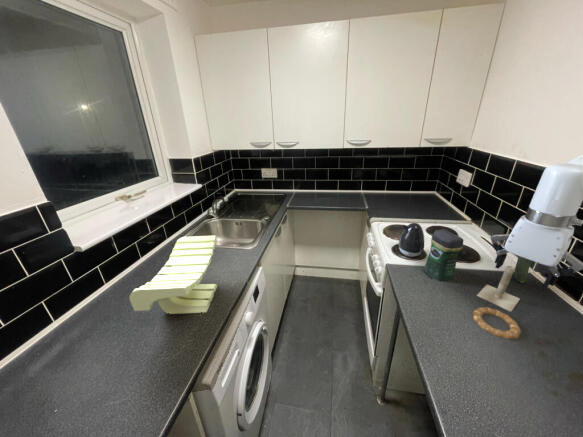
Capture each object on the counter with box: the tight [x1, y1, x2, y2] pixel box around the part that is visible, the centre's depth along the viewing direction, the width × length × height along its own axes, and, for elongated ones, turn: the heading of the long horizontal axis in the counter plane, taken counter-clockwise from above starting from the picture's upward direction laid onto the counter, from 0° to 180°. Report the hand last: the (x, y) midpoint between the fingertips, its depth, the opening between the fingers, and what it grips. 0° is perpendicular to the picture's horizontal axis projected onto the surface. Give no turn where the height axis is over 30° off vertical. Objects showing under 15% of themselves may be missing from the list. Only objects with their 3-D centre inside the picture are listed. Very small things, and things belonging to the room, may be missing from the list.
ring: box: [471, 306, 522, 340], centre depth 68 cm, size 11×11×2 cm
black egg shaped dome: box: [397, 222, 425, 258], centre depth 101 cm, size 10×10×15 cm
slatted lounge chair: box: [129, 234, 218, 315], centre depth 80 cm, size 30×16×18 cm, turn 1°
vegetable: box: [513, 256, 533, 284], centre depth 81 cm, size 4×4×20 cm
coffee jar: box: [423, 228, 464, 282], centre depth 86 cm, size 10×8×19 cm
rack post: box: [476, 265, 521, 313], centre depth 74 cm, size 9×9×13 cm
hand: (520, 275), depth 61 cm, fingers open, 9 cm apart
